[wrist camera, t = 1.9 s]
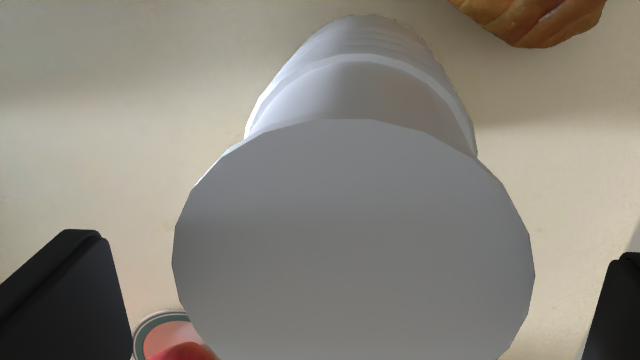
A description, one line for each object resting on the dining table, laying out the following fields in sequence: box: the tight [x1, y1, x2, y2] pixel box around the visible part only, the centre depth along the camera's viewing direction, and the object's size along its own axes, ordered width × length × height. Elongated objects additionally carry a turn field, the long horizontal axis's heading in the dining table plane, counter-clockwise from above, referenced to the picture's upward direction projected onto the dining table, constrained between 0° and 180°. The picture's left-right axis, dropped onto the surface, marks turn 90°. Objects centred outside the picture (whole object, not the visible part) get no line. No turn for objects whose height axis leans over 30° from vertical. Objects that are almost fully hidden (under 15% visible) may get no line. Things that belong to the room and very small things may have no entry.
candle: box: [172, 14, 535, 360], centre depth 16 cm, size 7×7×15 cm
